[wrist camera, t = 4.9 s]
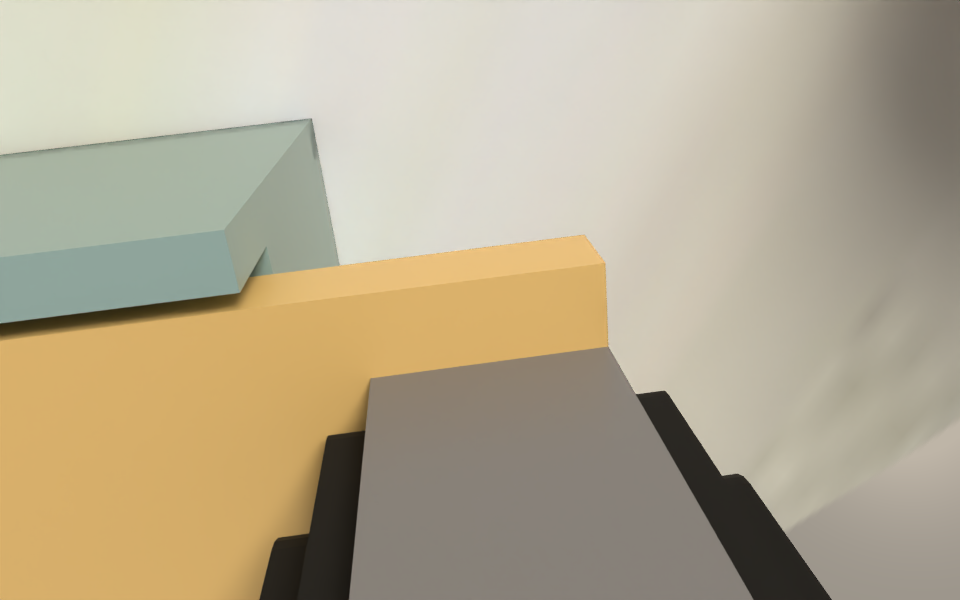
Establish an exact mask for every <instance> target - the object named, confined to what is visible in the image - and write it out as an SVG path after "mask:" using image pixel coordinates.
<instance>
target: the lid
mask: <svg viewBox="0 0 960 600" xmlns="http://www.w3.org/2000/svg"><path fill="white" fill-rule="evenodd" d="M357 431H365V440H364V451H363V461H362V471H361V482H360V492H359V502H358V513H357V523H356V533H355V544H354V554H353V564H352V574H351V585H350V595H349V600H753V598H752V596H751V594H750V593H749V591H748V589H747V588H746V586H745V584H744V582H743V581H742V579H741V577H740V575H739V574H738V572H737V570H736V568H735V567H734V565H733V563H732V561H731V560H730V558H729V556H728V554H727V553H726V551H725V549H724V547H723V546H722V544H721V542H720V540H719V539H718V537H717V535H716V534H715V532H714V530H713V528H712V527H711V525H710V523H709V521H708V520H707V518H706V516H705V514H704V513H703V511H702V509H701V507H700V506H699V504H698V502H697V500H696V499H695V497H694V495H693V493H692V492H691V490H690V488H689V486H688V485H687V483H686V481H685V479H684V478H683V476H682V474H681V473H680V471H679V469H678V467H677V466H676V464H675V462H674V460H673V459H672V457H671V455H670V453H669V452H668V450H667V448H666V446H665V445H664V443H663V441H662V439H661V438H660V436H659V434H658V432H657V431H656V429H655V427H654V425H653V424H652V422H651V420H650V418H649V417H648V415H647V413H646V412H645V410H644V408H643V406H642V405H641V403H640V401H639V399H638V398H637V396H636V394H635V392H634V391H633V389H632V387H631V385H630V384H629V382H628V380H627V378H626V377H625V375H624V373H623V371H622V370H621V368H620V366H619V364H618V363H617V361H616V359H615V358H614V356H613V354H612V352H611V351H610V349H609V347H608V326H607V298H606V270H605V262H604V261H603V259H602V258H601V257H600V255H599V254H598V253H597V251H596V250H595V249H594V247H593V246H592V245H591V243H590V242H589V240H588V239H587V238H586V236H585V235H578V236H571V237H563V238H555V239H547V240H539V241H531V242H523V243H515V244H507V245H499V246H492V247H484V248H476V249H468V250H460V251H452V252H444V253H436V254H428V255H420V256H413V257H405V258H397V259H389V260H381V261H373V262H365V263H357V264H349V265H341V266H333V267H326V268H318V269H310V270H302V271H294V272H286V273H278V274H270V275H262V276H254V277H249V278H248V279H247V281H246V283H245V285H244V286H243V288H242V290H241V292H240V293H235V294H227V295H219V296H211V297H203V298H196V299H188V300H180V301H172V302H164V303H156V304H149V305H141V306H133V307H125V308H117V309H109V310H101V311H94V312H86V313H78V314H70V315H62V316H54V317H47V318H39V319H31V320H23V321H15V322H7V323H0V600H259V599H260V595H261V591H262V586H263V582H264V578H265V574H266V570H267V566H268V562H269V558H270V554H271V550H272V547H273V544H274V542H275V540H276V539H277V538H280V537H287V536H294V535H301V534H308V533H309V531H310V526H311V520H312V515H313V509H314V504H315V498H316V493H317V487H318V482H319V476H320V471H321V465H322V460H323V454H324V449H325V443H326V439H327V436H329V435H335V434H342V433H350V432H357Z"/></svg>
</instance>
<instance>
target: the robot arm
mask: <svg viewBox="0 0 960 600" xmlns="http://www.w3.org/2000/svg"><path fill="white" fill-rule="evenodd" d="M636 396H637V398H638V399H639V401H640V403H641V405H642V406H643V408H644V410H645V412H646V413H647V415H648V417H649V418H650V420H651V422H652V424H653V425H654V427H655V429H656V431H657V432H658V434H659V436H660V438H661V439H662V441H663V443H664V445H665V446H666V448H667V450H668V452H669V453H670V455H671V457H672V459H673V460H674V462H675V464H676V466H677V467H678V469H679V471H680V473H681V474H682V476H683V478H684V479H685V481H686V483H687V485H688V486H689V488H690V490H691V492H692V493H693V495H694V497H695V499H696V500H697V502H698V504H699V506H700V507H701V509H702V511H703V513H704V514H705V516H706V518H707V520H708V521H709V523H710V525H711V527H712V528H713V530H714V532H715V534H716V535H717V537H718V539H719V540H720V542H721V544H722V546H723V547H724V549H725V551H726V553H727V554H728V556H729V558H730V560H731V561H732V563H733V565H734V567H735V568H736V570H737V572H738V574H739V575H740V577H741V579H742V581H743V582H744V584H745V586H746V588H747V589H748V591H749V593H750V594H751V596H752V598H753V600H832V599H831V598H830V597H829V595H828V594H827V592H826V591H825V590H824V588H823V587H822V585H821V584H820V582H819V581H818V580H817V578H816V577H815V575H814V574H813V572H812V571H811V570H810V568H809V567H808V565H807V564H806V563H805V561H804V560H803V558H802V557H801V555H800V554H799V553H798V551H797V550H796V548H795V547H794V545H793V544H792V543H791V542H790V540H789V539H788V537H787V536H786V534H785V533H784V531H783V530H782V528H781V527H780V526H779V524H778V523H777V521H776V520H775V518H774V517H773V516H772V514H771V513H770V511H769V510H768V509H767V507H766V506H765V504H764V503H763V501H762V500H761V499H760V497H759V496H758V494H757V493H756V491H755V490H754V489H753V487H752V486H751V484H750V483H749V482H748V481H747V480H746V479H745V478H744V476H742V475H739V474H732V475H725V476H722V475H721V474H720V472H719V471H718V469H717V468H716V466H715V465H714V463H713V462H712V460H711V459H710V457H709V456H708V454H707V452H706V451H705V449H704V448H703V446H702V445H701V443H700V442H699V440H698V439H697V437H696V436H695V434H694V433H693V431H692V430H691V428H690V427H689V425H688V424H687V422H686V420H685V419H684V417H683V416H682V414H681V413H680V411H679V410H678V408H677V407H676V405H675V404H674V402H673V401H672V399H671V398H670V396H669V395H668V394H667V392H666V391H658V392H651V393H643V394H636ZM364 440H365V431H357V432H350V433H342V434H335V435H329V436H327V439H326V443H325V449H324V454H323V460H322V465H321V471H320V476H319V482H318V487H317V493H316V498H315V504H314V509H313V515H312V520H311V526H310V531H309V533H308V534H301V535H294V536H287V537H280V538H277V539H276V540H275V542H274V544H273V547H272V550H271V554H270V558H269V562H268V566H267V570H266V574H265V578H264V582H263V586H262V591H261V595H260V599H259V600H349V595H350V585H351V574H352V564H353V554H354V544H355V533H356V523H357V513H358V502H359V492H360V482H361V471H362V461H363V451H364Z"/></svg>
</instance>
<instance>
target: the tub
mask: <svg viewBox="0 0 960 600" xmlns="http://www.w3.org/2000/svg"><path fill="white" fill-rule="evenodd" d="M333 266H340V265H339V260H338V255H337V250H336V244H335V239H334V234H333V228H332V223H331V218H330V213H329V207H328V202H327V197H326V191H325V186H324V181H323V176H322V170H321V165H320V160H319V155H318V149H317V144H316V139H315V133H314V128H313V123H312V119H304V120H295V121H287V122H278V123H270V124H261V125H252V126H244V127H235V128H227V129H218V130H210V131H201V132H193V133H184V134H176V135H167V136H159V137H150V138H141V139H133V140H124V141H116V142H107V143H99V144H90V145H82V146H73V147H65V148H56V149H48V150H39V151H31V152H22V153H13V154H5V155H0V323H7V322H15V321H23V320H31V319H39V318H47V317H54V316H62V315H70V314H78V313H86V312H94V311H101V310H109V309H117V308H125V307H133V306H141V305H149V304H156V303H164V302H172V301H180V300H188V299H196V298H203V297H211V296H219V295H227V294H235V293H240V292H241V290H242V288H243V286H244V285H245V283H246V281H247V279H248V278H249V277H254V276H262V275H270V274H278V273H286V272H294V271H302V270H310V269H318V268H326V267H333Z"/></svg>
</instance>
